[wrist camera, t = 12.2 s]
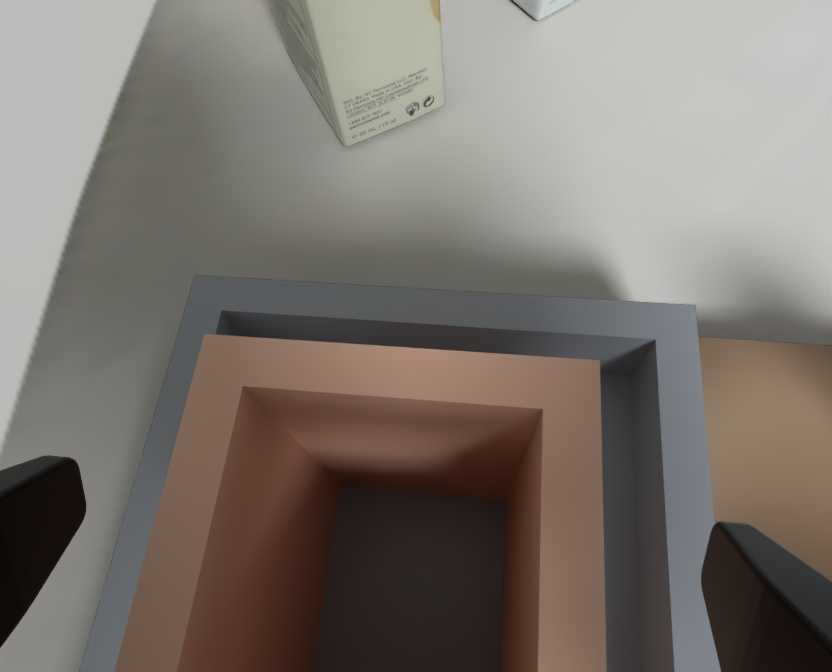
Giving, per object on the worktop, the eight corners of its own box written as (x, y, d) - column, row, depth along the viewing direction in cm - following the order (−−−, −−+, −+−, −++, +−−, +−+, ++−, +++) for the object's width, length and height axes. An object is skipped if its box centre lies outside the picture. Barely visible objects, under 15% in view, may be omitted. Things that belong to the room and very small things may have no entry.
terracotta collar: (530, 822, 13) (614, 1089, 6) (261, 783, 14) (31, 979, 6) (538, 473, 16) (599, 360, 9) (317, 454, 17) (205, 334, 9)
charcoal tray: (692, 989, 12) (766, 1110, 9) (97, 882, 14) (-5, 958, 11) (656, 355, 18) (695, 305, 15) (236, 326, 19) (195, 274, 16)
